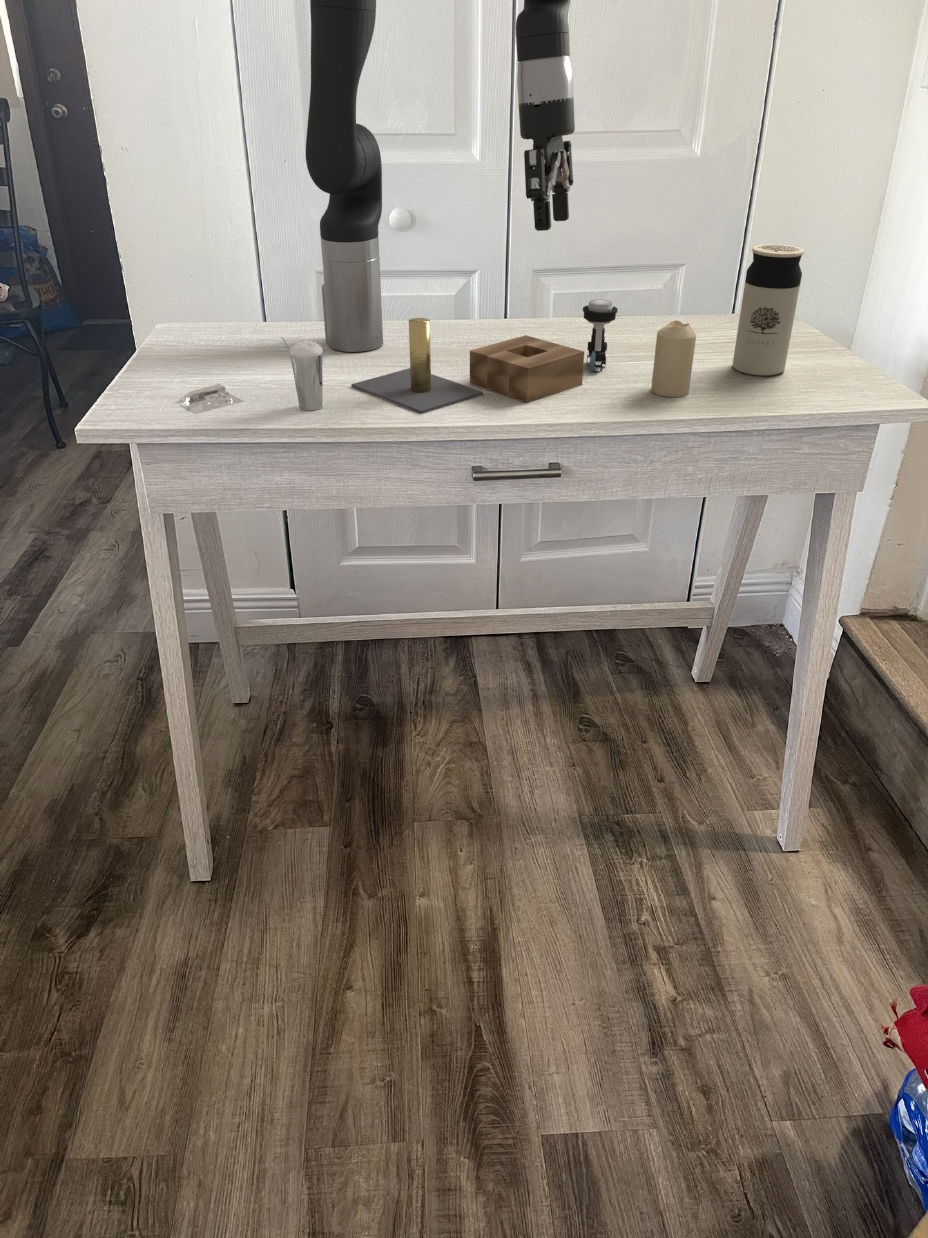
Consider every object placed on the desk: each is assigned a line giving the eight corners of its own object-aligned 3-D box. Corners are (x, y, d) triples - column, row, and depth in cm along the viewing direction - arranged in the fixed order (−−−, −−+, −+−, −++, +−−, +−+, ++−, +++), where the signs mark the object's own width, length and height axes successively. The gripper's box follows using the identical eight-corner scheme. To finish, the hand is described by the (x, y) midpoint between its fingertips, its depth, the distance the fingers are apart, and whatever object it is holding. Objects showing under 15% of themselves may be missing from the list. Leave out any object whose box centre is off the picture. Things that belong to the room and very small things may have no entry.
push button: (614, 374, 146) (620, 308, 141) (579, 373, 147) (584, 307, 141) (611, 361, 152) (617, 297, 147) (578, 360, 152) (582, 297, 147)
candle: (648, 385, 142) (655, 317, 137) (685, 385, 142) (694, 318, 136) (653, 397, 137) (661, 328, 132) (691, 397, 137) (700, 328, 132)
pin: (406, 389, 139) (404, 320, 134) (422, 384, 141) (420, 316, 136) (419, 394, 137) (418, 324, 132) (435, 389, 139) (434, 320, 134)
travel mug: (743, 358, 153) (761, 241, 144) (791, 367, 149) (813, 247, 140) (724, 370, 148) (742, 249, 138) (773, 380, 144) (795, 256, 134)
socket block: (469, 383, 143) (469, 350, 140) (524, 366, 150) (525, 335, 147) (527, 402, 135) (528, 368, 133) (582, 384, 142) (584, 351, 140)
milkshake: (290, 402, 135) (283, 332, 130) (327, 401, 136) (322, 331, 130) (287, 413, 132) (280, 341, 126) (326, 412, 132) (320, 340, 127)
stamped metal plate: (221, 393, 141) (219, 383, 140) (245, 405, 136) (244, 395, 136) (172, 405, 136) (170, 395, 135) (195, 417, 132) (194, 407, 131)
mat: (351, 386, 141) (351, 384, 141) (412, 369, 148) (412, 367, 148) (421, 413, 131) (421, 410, 131) (483, 394, 138) (483, 391, 138)
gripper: (536, 97, 135) (543, 219, 143) (501, 103, 124) (511, 234, 132) (586, 92, 132) (591, 216, 140) (556, 97, 121) (562, 231, 129)
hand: (552, 225), depth 136 cm, fingers open, 8 cm apart
